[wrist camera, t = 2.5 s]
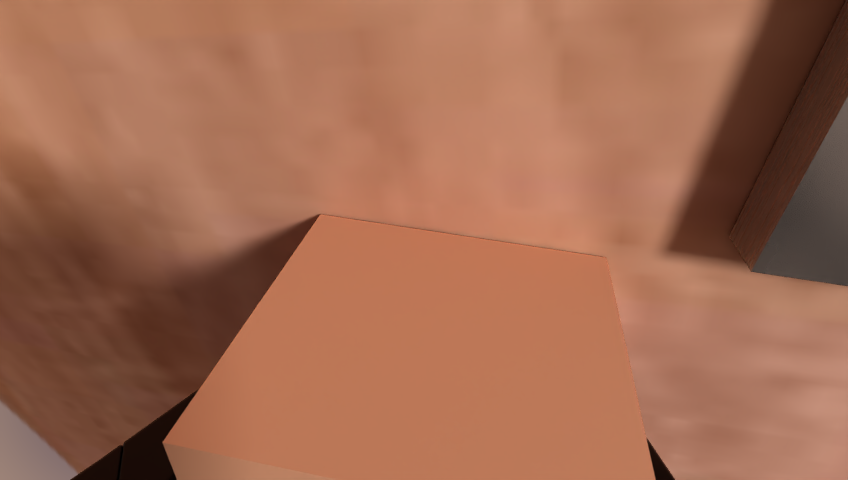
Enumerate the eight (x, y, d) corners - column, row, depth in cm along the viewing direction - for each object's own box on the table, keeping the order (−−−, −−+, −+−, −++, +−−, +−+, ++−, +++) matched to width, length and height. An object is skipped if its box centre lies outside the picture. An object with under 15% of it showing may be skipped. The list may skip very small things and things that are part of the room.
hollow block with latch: (545, 436, 12) (555, 735, 8) (332, 395, 13) (228, 650, 8) (606, 257, 9) (678, 584, 5) (320, 214, 10) (144, 467, 5)
